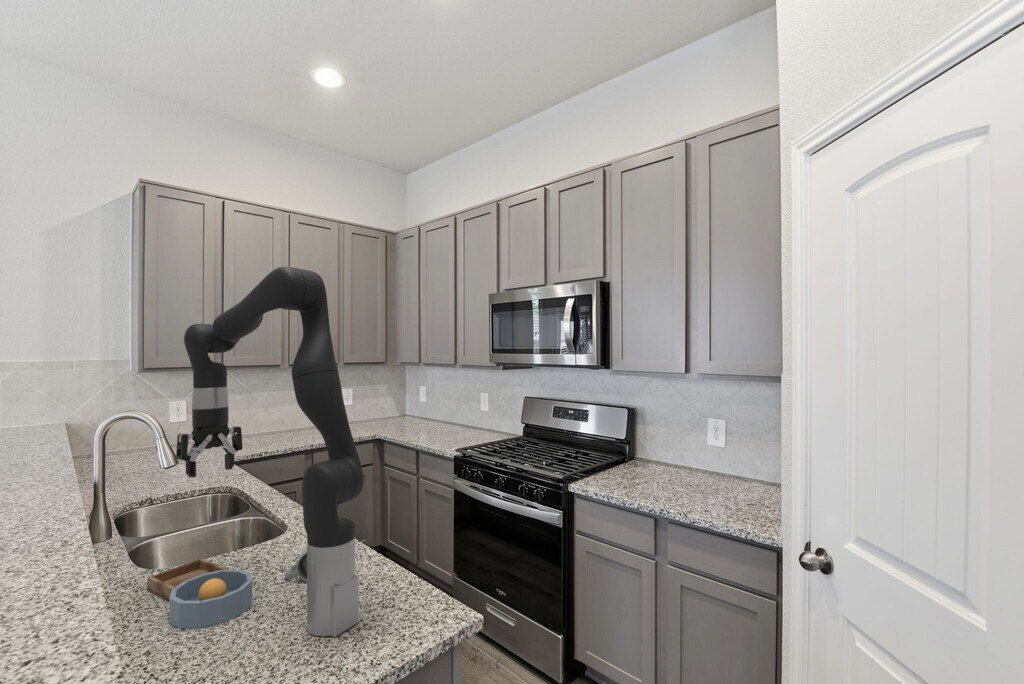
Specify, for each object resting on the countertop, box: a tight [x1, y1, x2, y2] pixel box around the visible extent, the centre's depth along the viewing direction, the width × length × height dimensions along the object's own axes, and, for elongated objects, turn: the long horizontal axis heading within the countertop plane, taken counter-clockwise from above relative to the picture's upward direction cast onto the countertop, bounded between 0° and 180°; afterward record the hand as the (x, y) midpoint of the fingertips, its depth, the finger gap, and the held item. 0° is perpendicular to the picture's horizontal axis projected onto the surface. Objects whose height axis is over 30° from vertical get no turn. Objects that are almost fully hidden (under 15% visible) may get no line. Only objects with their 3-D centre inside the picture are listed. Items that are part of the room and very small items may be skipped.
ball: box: [198, 578, 226, 601], centre depth 105 cm, size 5×5×5 cm
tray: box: [146, 558, 230, 602], centre depth 115 cm, size 12×12×3 cm
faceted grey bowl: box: [168, 569, 253, 629], centre depth 105 cm, size 15×15×5 cm
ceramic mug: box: [284, 546, 307, 582], centre depth 120 cm, size 11×8×8 cm
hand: (211, 473), depth 118 cm, fingers open, 8 cm apart
